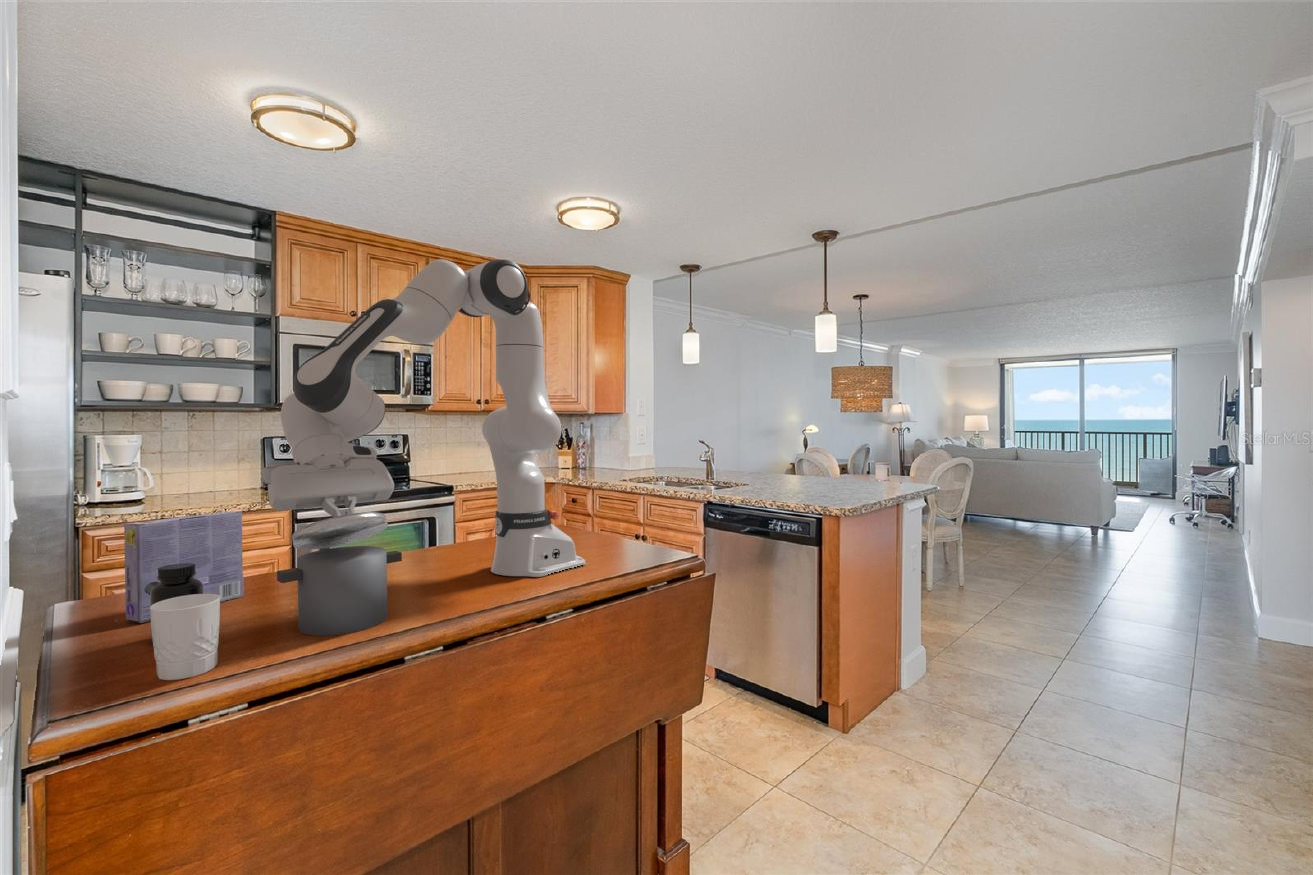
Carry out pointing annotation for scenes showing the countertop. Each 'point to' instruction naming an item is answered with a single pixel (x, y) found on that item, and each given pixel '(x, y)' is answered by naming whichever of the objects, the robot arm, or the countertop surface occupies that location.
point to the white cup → (185, 635)
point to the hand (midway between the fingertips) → (346, 520)
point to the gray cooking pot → (341, 589)
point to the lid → (339, 530)
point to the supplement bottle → (175, 583)
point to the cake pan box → (183, 556)
